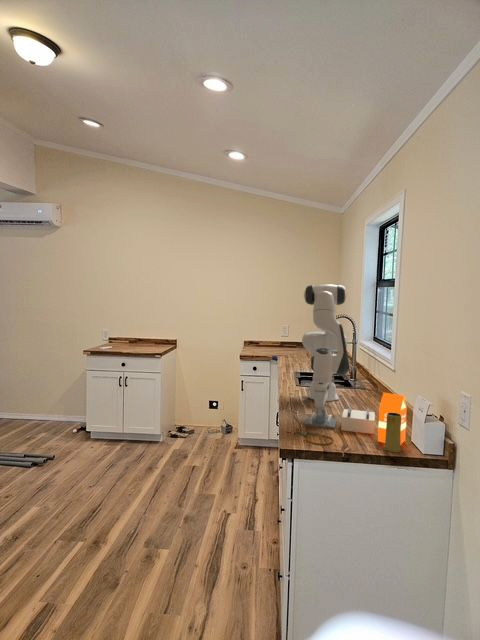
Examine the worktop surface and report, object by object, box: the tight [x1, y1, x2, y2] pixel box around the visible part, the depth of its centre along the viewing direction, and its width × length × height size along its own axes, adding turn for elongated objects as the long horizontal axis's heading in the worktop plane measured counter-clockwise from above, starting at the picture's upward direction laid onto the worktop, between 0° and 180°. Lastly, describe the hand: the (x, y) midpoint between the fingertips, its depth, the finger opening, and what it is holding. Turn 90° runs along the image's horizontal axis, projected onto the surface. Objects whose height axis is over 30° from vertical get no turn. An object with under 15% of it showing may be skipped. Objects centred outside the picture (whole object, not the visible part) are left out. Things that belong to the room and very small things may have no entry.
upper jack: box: [340, 405, 376, 435], centre depth 192 cm, size 14×14×8 cm
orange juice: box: [377, 391, 408, 445], centre depth 174 cm, size 8×9×20 cm
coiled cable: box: [298, 429, 334, 446], centre depth 175 cm, size 12×16×2 cm
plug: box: [315, 407, 327, 423], centre depth 197 cm, size 4×4×6 cm
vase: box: [383, 412, 402, 453], centre depth 164 cm, size 6×6×14 cm
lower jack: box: [303, 411, 338, 430], centre depth 197 cm, size 14×14×3 cm
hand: (321, 412), depth 197 cm, fingers open, 8 cm apart
